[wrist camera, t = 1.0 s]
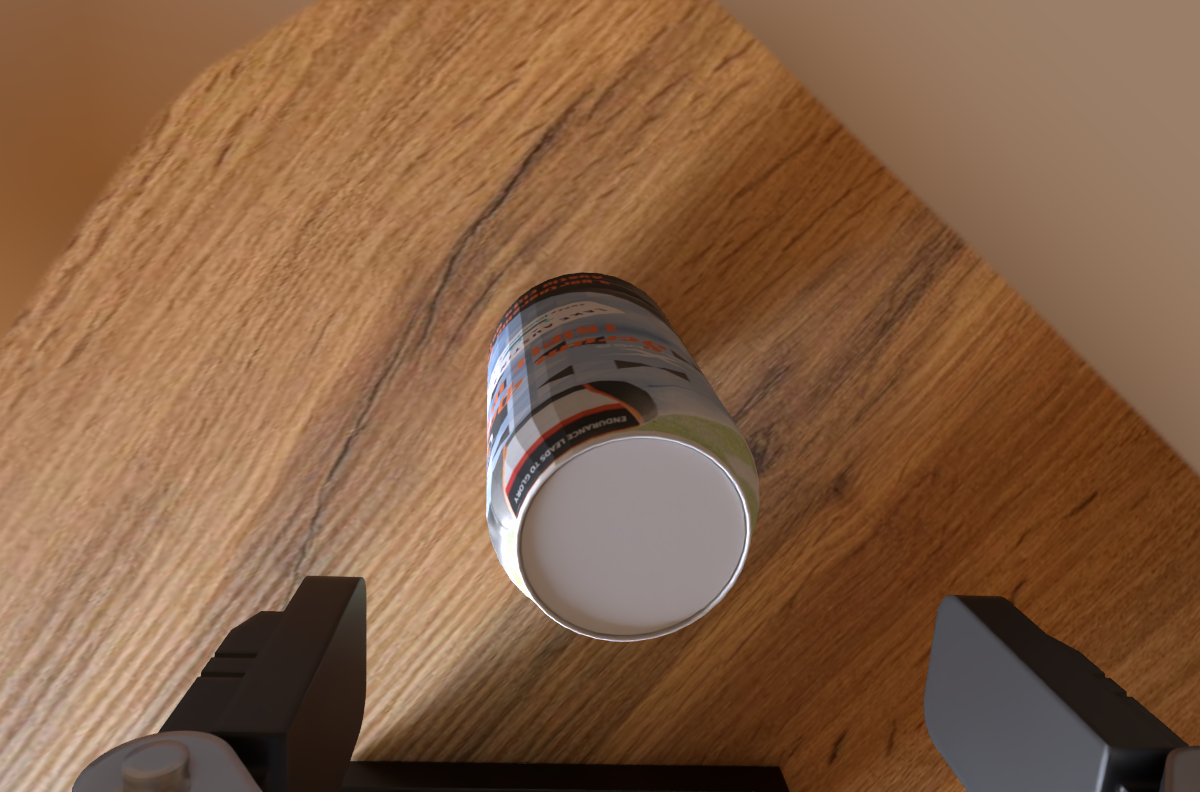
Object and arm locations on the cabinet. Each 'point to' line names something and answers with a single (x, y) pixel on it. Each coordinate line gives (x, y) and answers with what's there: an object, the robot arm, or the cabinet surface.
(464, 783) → the rack
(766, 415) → the cabinet surface
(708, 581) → the beverage can
